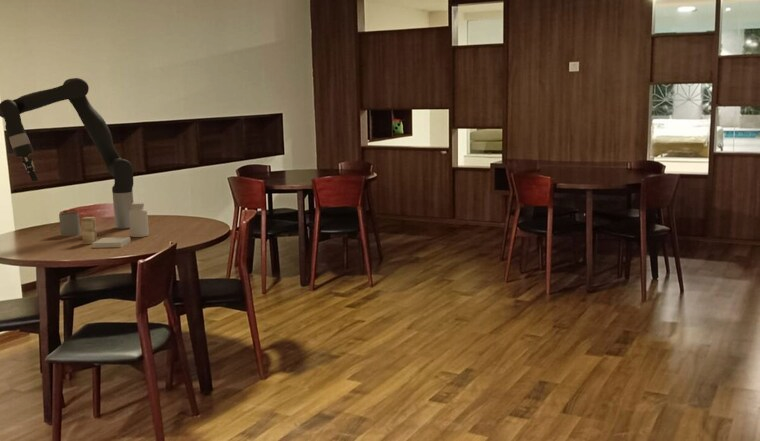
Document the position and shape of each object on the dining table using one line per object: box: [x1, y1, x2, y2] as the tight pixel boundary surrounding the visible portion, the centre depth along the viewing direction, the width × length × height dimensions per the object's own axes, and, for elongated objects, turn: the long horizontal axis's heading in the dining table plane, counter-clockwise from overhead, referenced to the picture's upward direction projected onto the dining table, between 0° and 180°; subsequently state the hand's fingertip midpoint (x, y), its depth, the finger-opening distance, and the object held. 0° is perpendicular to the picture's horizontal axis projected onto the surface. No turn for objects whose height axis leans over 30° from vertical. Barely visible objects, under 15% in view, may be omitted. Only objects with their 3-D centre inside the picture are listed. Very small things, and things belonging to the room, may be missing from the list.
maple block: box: [80, 216, 98, 245], centre depth 328 cm, size 4×4×11 cm
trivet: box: [92, 236, 132, 249], centre depth 323 cm, size 12×12×2 cm
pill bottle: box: [129, 202, 150, 238], centre depth 341 cm, size 8×8×15 cm
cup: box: [58, 211, 82, 237], centre depth 350 cm, size 8×8×10 cm
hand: (35, 180), depth 331 cm, fingers open, 8 cm apart
